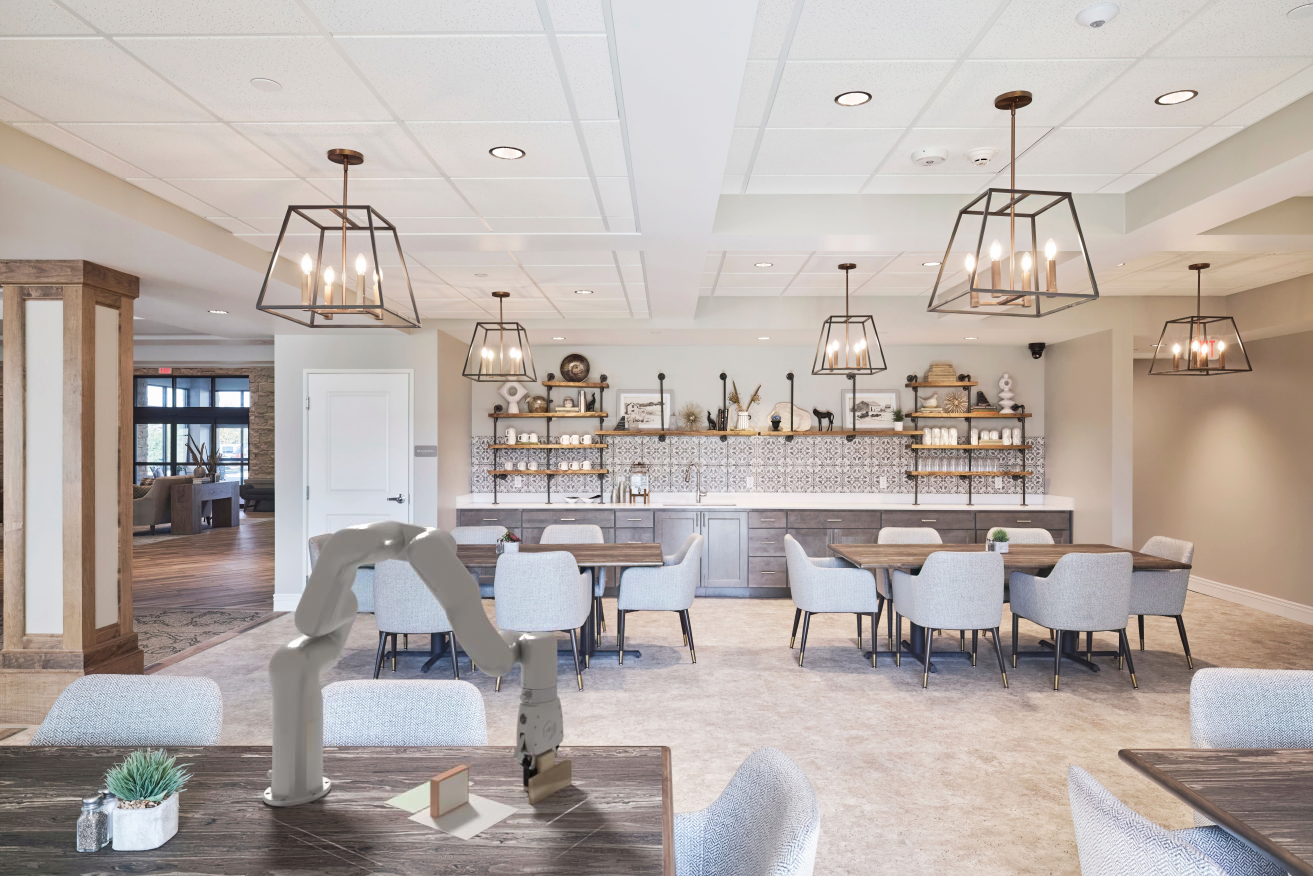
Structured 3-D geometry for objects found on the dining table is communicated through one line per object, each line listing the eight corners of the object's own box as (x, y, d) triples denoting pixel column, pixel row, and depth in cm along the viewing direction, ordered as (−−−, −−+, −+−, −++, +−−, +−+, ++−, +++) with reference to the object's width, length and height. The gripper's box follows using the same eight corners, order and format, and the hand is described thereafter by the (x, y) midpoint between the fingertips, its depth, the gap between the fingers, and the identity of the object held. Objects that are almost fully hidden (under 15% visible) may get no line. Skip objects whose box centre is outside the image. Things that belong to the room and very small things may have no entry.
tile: (430, 815, 144) (430, 778, 144) (461, 799, 151) (461, 764, 151) (437, 818, 143) (437, 781, 143) (469, 802, 150) (469, 766, 150)
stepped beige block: (510, 798, 152) (510, 758, 152) (549, 777, 162) (548, 740, 162) (533, 806, 149) (533, 765, 149) (571, 784, 159) (571, 745, 159)
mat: (406, 819, 143) (406, 818, 143) (462, 792, 155) (462, 790, 155) (466, 841, 135) (466, 840, 135) (520, 811, 146) (520, 809, 146)
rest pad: (383, 803, 150) (383, 802, 150) (445, 775, 163) (445, 773, 163) (413, 814, 145) (413, 813, 145) (474, 784, 159) (474, 783, 159)
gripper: (524, 707, 147) (524, 802, 147) (578, 685, 161) (579, 771, 161) (496, 701, 151) (496, 793, 151) (551, 680, 166) (552, 764, 165)
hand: (539, 781), depth 156 cm, fingers open, 4 cm apart
